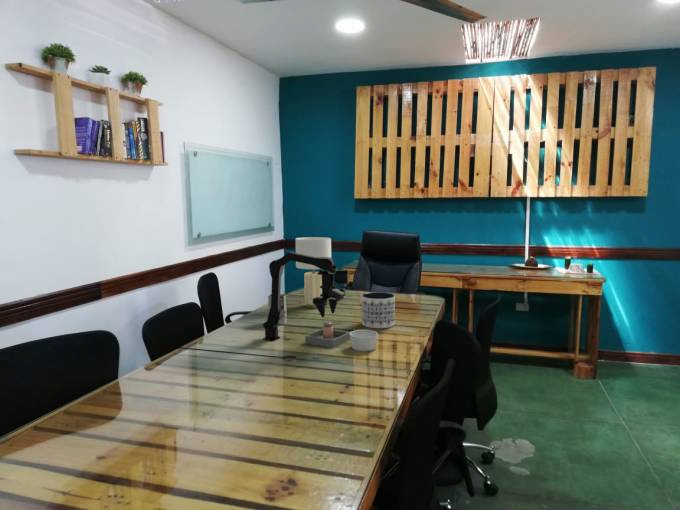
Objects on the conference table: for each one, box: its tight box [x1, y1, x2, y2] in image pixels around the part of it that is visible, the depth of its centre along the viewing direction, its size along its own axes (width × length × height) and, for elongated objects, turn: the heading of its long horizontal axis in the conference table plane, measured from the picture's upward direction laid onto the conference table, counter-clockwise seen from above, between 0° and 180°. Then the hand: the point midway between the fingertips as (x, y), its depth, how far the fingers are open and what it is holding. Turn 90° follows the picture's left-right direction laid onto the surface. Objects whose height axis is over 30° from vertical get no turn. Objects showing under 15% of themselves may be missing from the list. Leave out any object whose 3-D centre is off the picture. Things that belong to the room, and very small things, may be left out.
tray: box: [304, 327, 351, 349], centre depth 229 cm, size 16×16×4 cm
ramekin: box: [349, 329, 379, 352], centre depth 218 cm, size 13×13×7 cm
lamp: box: [295, 236, 332, 309], centre depth 303 cm, size 23×23×44 cm
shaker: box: [322, 321, 334, 340], centre depth 229 cm, size 5×5×8 cm
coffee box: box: [267, 293, 288, 325], centre depth 264 cm, size 9×6×16 cm
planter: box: [361, 291, 396, 329], centre depth 259 cm, size 18×18×16 cm
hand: (328, 315), depth 228 cm, fingers open, 9 cm apart
